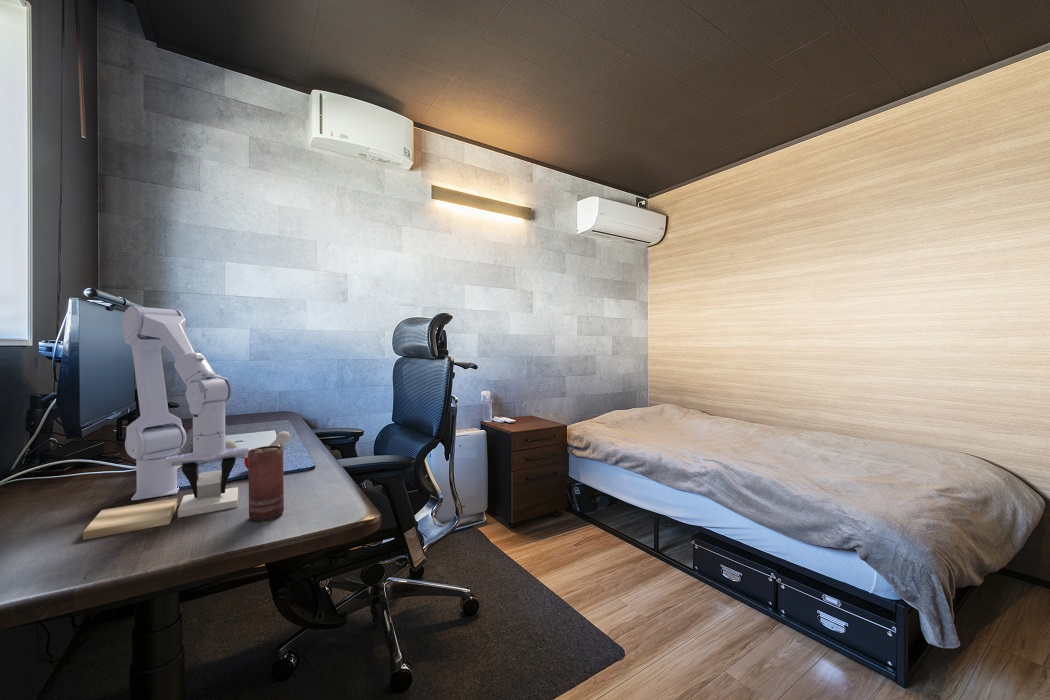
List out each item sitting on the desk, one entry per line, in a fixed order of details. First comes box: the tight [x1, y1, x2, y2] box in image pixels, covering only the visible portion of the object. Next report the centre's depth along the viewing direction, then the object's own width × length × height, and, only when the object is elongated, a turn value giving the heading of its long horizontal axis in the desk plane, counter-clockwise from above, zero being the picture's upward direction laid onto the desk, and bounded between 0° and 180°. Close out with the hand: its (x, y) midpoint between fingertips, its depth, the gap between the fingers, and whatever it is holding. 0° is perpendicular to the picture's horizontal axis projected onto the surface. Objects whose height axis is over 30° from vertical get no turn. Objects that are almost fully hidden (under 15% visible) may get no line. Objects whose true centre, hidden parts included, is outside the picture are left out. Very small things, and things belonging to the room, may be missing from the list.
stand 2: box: [177, 486, 239, 518], centre depth 92 cm, size 10×10×2 cm
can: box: [247, 445, 285, 523], centre depth 86 cm, size 6×6×14 cm
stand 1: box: [82, 497, 179, 541], centre depth 84 cm, size 12×12×2 cm
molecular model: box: [225, 430, 291, 470], centre depth 117 cm, size 18×6×10 cm, turn 145°
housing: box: [197, 469, 222, 505], centre depth 92 cm, size 7×4×5 cm, turn 34°
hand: (210, 494), depth 92 cm, fingers closed on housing, 4 cm apart
